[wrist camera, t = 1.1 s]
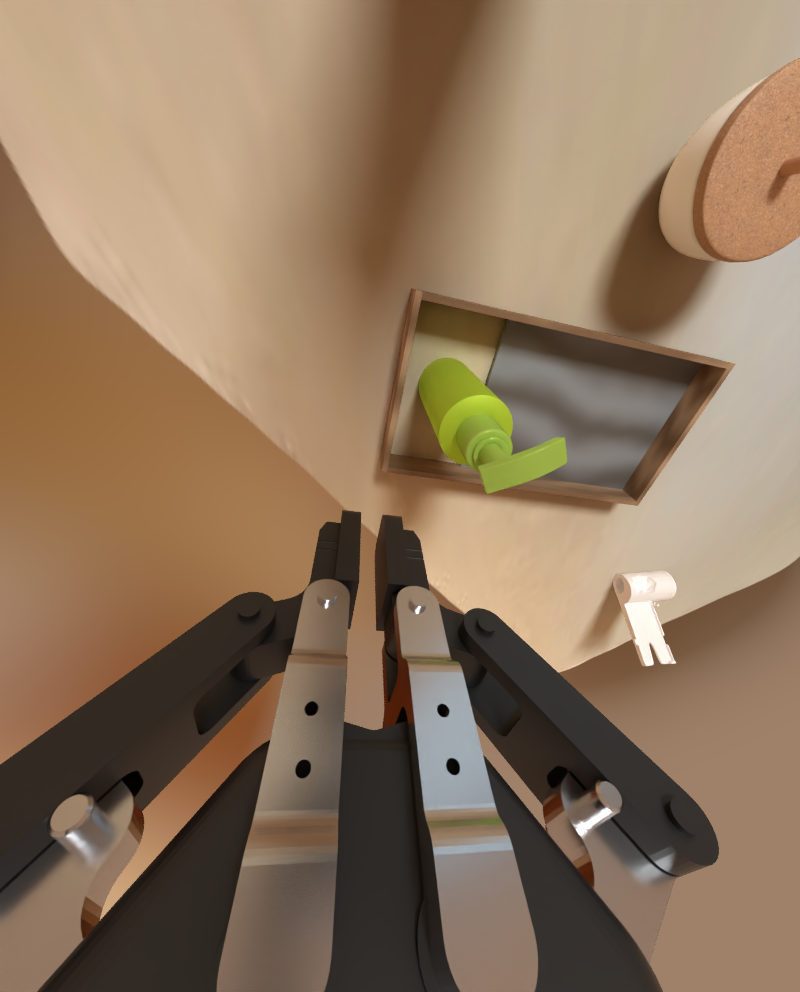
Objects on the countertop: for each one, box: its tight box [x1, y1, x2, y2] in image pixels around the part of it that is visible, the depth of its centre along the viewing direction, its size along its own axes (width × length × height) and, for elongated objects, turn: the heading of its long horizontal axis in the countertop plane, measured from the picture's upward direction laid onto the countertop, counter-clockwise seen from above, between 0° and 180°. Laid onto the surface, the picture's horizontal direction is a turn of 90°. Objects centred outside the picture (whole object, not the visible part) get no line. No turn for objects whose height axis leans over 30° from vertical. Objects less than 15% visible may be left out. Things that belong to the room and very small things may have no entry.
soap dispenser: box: [418, 358, 567, 494], centre depth 29 cm, size 6×7×20 cm
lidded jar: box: [659, 58, 800, 262], centre depth 26 cm, size 11×11×9 cm
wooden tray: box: [381, 289, 735, 506], centre depth 38 cm, size 18×34×4 cm, turn 79°
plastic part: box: [613, 570, 676, 666], centre depth 55 cm, size 8×10×12 cm
